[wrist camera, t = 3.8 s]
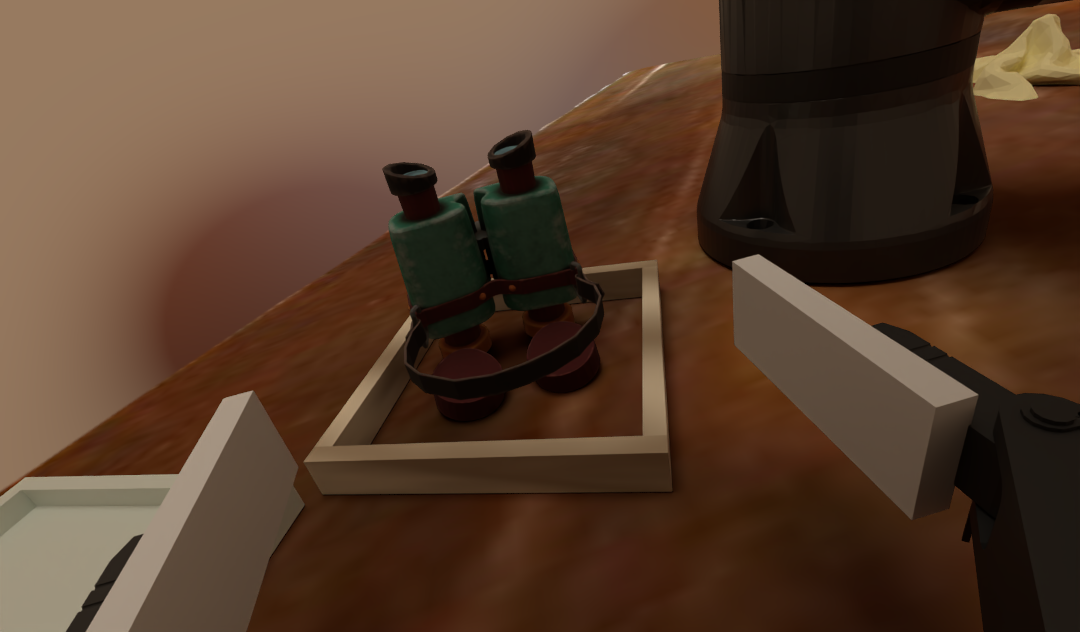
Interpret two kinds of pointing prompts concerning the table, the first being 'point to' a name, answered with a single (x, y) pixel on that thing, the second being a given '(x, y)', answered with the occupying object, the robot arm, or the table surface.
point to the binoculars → (467, 290)
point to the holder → (510, 463)
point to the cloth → (1029, 63)
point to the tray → (74, 541)
